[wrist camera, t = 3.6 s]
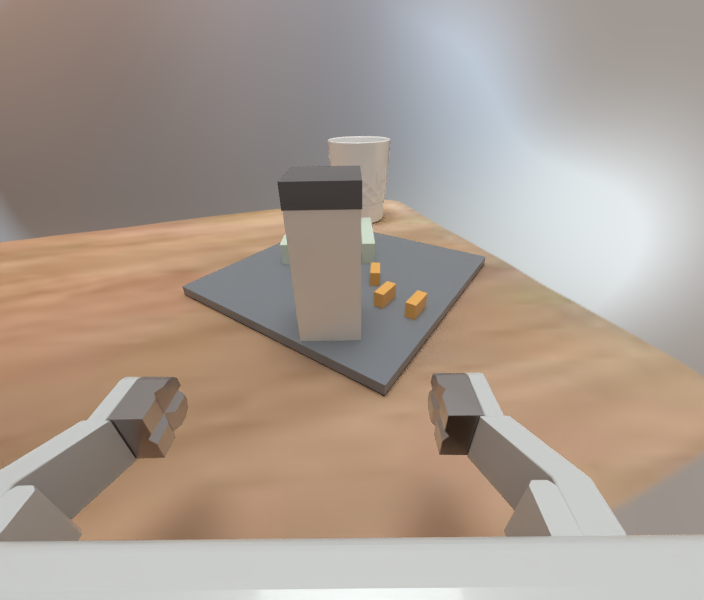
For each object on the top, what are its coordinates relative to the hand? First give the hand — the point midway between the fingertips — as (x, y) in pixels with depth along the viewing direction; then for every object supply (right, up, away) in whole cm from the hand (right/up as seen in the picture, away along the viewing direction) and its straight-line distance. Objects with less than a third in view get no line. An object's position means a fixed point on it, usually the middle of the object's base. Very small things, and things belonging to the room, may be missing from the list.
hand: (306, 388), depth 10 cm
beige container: (0, +1, +12) cm, 12 cm away
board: (+1, +5, +19) cm, 20 cm away
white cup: (+3, +15, +35) cm, 38 cm away
